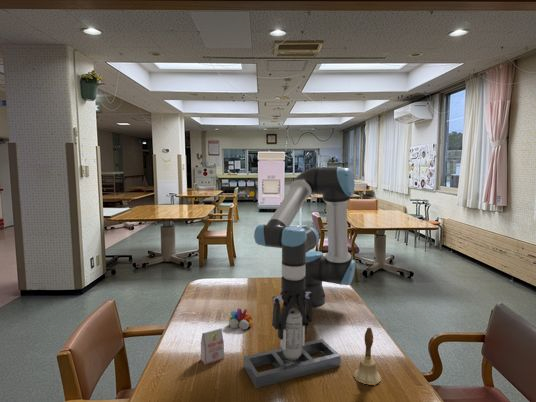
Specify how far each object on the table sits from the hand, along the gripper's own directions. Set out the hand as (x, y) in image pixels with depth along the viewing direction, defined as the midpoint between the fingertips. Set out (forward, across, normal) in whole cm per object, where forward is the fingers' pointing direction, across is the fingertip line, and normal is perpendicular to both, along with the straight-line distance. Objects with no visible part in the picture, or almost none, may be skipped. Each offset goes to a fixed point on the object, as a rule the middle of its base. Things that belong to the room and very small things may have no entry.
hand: (292, 345), depth 111 cm
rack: (+7, 0, 0) cm, 7 cm away
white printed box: (+7, +23, -14) cm, 28 cm away
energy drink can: (+4, 0, 0) cm, 4 cm away
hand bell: (+7, -19, +14) cm, 25 cm away
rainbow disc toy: (+7, +7, -33) cm, 34 cm away
